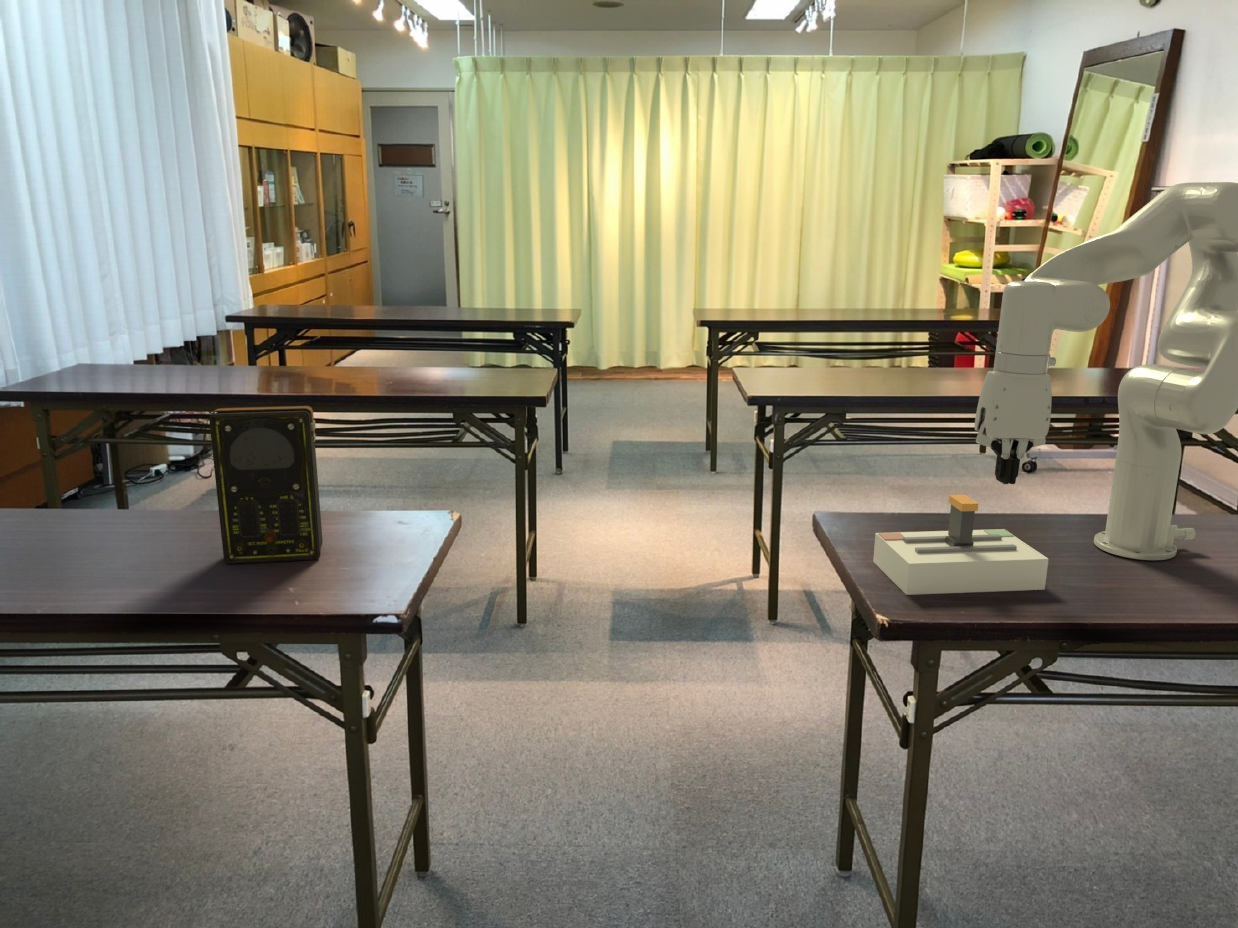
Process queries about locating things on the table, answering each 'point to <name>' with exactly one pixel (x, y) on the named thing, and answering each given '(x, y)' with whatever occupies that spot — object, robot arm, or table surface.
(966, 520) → the handle
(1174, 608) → the table surface
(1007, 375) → the robot arm
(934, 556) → the switch box
